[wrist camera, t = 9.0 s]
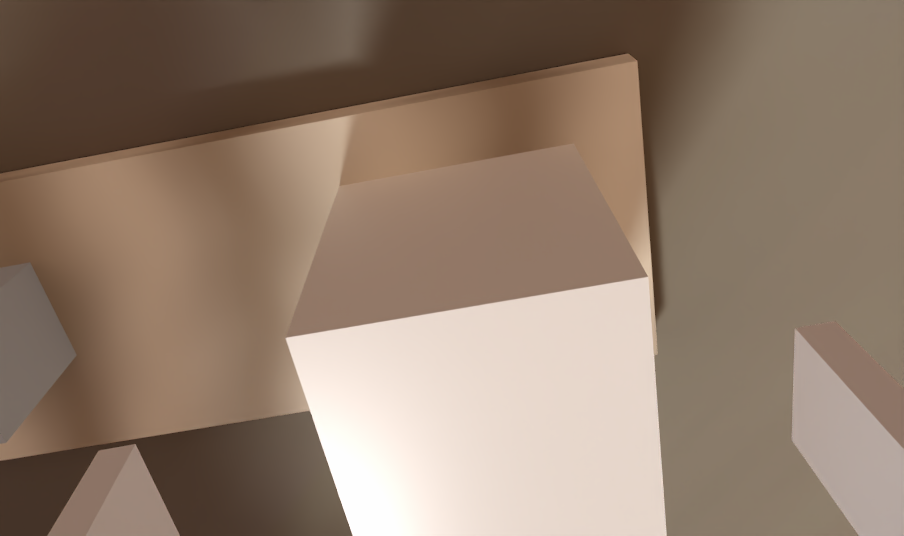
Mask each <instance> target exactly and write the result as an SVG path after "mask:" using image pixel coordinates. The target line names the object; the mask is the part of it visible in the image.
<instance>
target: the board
mask: <svg viewBox="0 0 904 536" xmlns="http://www.w3.org/2000/svg"><path fill="white" fill-rule="evenodd" d="M573 143H574V145H575V147H576V149H577V150H578V152H579V154H580V156H581V157H582V159H583V161H584V163H585V165H586V166H587V168H588V170H589V172H590V174H591V175H592V177H593V179H594V181H595V182H596V184H597V186H598V188H599V190H600V191H601V193H602V195H603V197H604V199H605V200H606V202H607V204H608V206H609V207H610V209H611V211H612V213H613V215H614V216H615V218H616V220H617V222H618V224H619V225H620V227H621V229H622V231H623V232H624V234H625V236H626V238H627V240H628V241H629V243H630V245H631V247H632V249H633V250H634V252H635V254H636V256H637V257H638V259H639V261H640V263H641V265H642V266H643V268H644V270H645V272H646V274H647V275H648V279H649V293H650V308H651V322H652V336H653V350H654V355H656V354H658V351H657V336H656V322H655V308H654V293H653V279H652V264H651V250H650V235H649V221H648V207H647V192H646V178H645V163H644V149H643V134H642V120H641V105H640V91H639V77H638V62H637V60H636V59H635V58H633V57H632V56H631V55H630V54H623V55H617V56H612V57H607V58H602V59H597V60H591V61H586V62H581V63H576V64H570V65H565V66H560V67H555V68H549V69H544V70H539V71H534V72H529V73H523V74H518V75H513V76H508V77H502V78H497V79H492V80H487V81H481V82H476V83H471V84H466V85H461V86H455V87H450V88H445V89H440V90H434V91H429V92H424V93H419V94H413V95H408V96H403V97H398V98H393V99H387V100H382V101H377V102H372V103H366V104H361V105H356V106H351V107H346V108H340V109H335V110H330V111H325V112H319V113H314V114H309V115H304V116H298V117H293V118H288V119H283V120H278V121H272V122H267V123H262V124H257V125H251V126H246V127H241V128H236V129H230V130H225V131H220V132H215V133H210V134H204V135H199V136H194V137H189V138H183V139H178V140H173V141H168V142H162V143H157V144H152V145H147V146H142V147H136V148H131V149H126V150H121V151H115V152H110V153H105V154H100V155H95V156H89V157H84V158H79V159H74V160H68V161H63V162H58V163H53V164H47V165H42V166H37V167H32V168H27V169H21V170H16V171H11V172H6V173H0V268H2V267H7V266H13V265H18V264H24V263H29V262H30V263H31V265H32V267H33V269H34V271H35V273H36V275H37V277H38V279H39V281H40V283H41V285H42V287H43V289H44V291H45V293H46V295H47V297H48V299H49V301H50V303H51V305H52V307H53V309H54V311H55V313H56V315H57V317H58V319H59V321H60V323H61V325H62V327H63V329H64V331H65V333H66V335H67V337H68V339H69V341H70V343H71V345H72V347H73V349H74V351H75V353H76V355H77V356H76V357H75V358H74V359H73V360H72V362H71V363H70V364H69V365H68V367H67V368H66V369H65V370H64V372H63V373H62V374H61V375H60V377H59V378H58V379H57V380H56V382H55V383H54V384H53V385H52V387H51V388H50V389H49V390H48V392H47V393H46V394H45V395H44V397H43V398H42V399H41V400H40V402H39V403H38V404H37V405H36V407H35V408H34V409H33V410H32V411H31V413H30V414H29V415H28V416H27V418H26V419H25V420H24V421H23V423H22V424H21V425H20V426H19V428H18V429H17V430H16V431H15V433H14V434H13V435H12V436H11V438H10V439H9V440H8V441H7V443H2V444H0V461H2V460H8V459H14V458H21V457H27V456H33V455H39V454H45V453H52V452H58V451H64V450H70V449H76V448H82V447H89V446H95V445H101V444H107V443H113V442H119V441H126V440H132V439H138V438H144V437H150V436H156V435H163V434H169V433H175V432H181V431H187V430H193V429H200V428H206V427H212V426H218V425H224V424H230V423H237V422H243V421H249V420H255V419H261V418H267V417H274V416H280V415H286V414H292V413H298V412H304V411H310V409H309V406H308V403H307V400H306V397H305V394H304V391H303V388H302V385H301V382H300V379H299V376H298V374H297V371H296V368H295V365H294V362H293V359H292V356H291V353H290V350H289V347H288V344H287V341H286V335H287V332H288V329H289V326H290V323H291V321H292V318H293V315H294V312H295V309H296V307H297V304H298V301H299V298H300V295H301V293H302V290H303V287H304V284H305V281H306V278H307V276H308V273H309V270H310V267H311V264H312V262H313V259H314V256H315V253H316V250H317V247H318V245H319V242H320V239H321V236H322V233H323V231H324V228H325V225H326V222H327V219H328V216H329V214H330V211H331V208H332V205H333V202H334V200H335V197H336V194H337V191H338V188H339V186H342V185H348V184H353V183H359V182H364V181H370V180H375V179H381V178H386V177H392V176H397V175H403V174H408V173H414V172H419V171H425V170H430V169H436V168H441V167H447V166H452V165H458V164H463V163H469V162H474V161H479V160H485V159H490V158H496V157H501V156H507V155H512V154H518V153H523V152H529V151H534V150H540V149H545V148H551V147H556V146H562V145H567V144H573Z"/></svg>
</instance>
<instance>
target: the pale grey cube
mask: <svg viewBox="0 0 904 536" xmlns="http://www.w3.org/2000/svg"><path fill="white" fill-rule="evenodd" d="M76 356H77V355H76V353H75V351H74V349H73V347H72V345H71V343H70V341H69V339H68V337H67V335H66V333H65V331H64V329H63V327H62V325H61V323H60V321H59V319H58V317H57V315H56V313H55V311H54V309H53V307H52V305H51V303H50V301H49V299H48V297H47V295H46V293H45V291H44V289H43V287H42V285H41V283H40V281H39V279H38V277H37V275H36V273H35V271H34V269H33V267H32V265H31V263H30V262H29V263H24V264H18V265H13V266H7V267H2V268H0V444H2V443H7V441H8V440H9V439H10V438H11V436H12V435H13V434H14V433H15V431H16V430H17V429H18V428H19V426H20V425H21V424H22V423H23V421H24V420H25V419H26V418H27V416H28V415H29V414H30V413H31V411H32V410H33V409H34V408H35V407H36V405H37V404H38V403H39V402H40V400H41V399H42V398H43V397H44V395H45V394H46V393H47V392H48V390H49V389H50V388H51V387H52V385H53V384H54V383H55V382H56V380H57V379H58V378H59V377H60V375H61V374H62V373H63V372H64V370H65V369H66V368H67V367H68V365H69V364H70V363H71V362H72V360H73V359H74V358H75V357H76Z"/></svg>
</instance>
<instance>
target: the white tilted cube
mask: <svg viewBox="0 0 904 536" xmlns="http://www.w3.org/2000/svg"><path fill="white" fill-rule="evenodd" d="M286 341H287V344H288V347H289V350H290V353H291V356H292V359H293V362H294V365H295V368H296V371H297V374H298V376H299V379H300V382H301V385H302V388H303V391H304V394H305V397H306V400H307V403H308V406H309V409H310V412H311V415H312V417H313V420H314V423H315V426H316V429H317V432H318V435H319V438H320V441H321V444H322V447H323V450H324V453H325V456H326V459H327V461H328V464H329V467H330V470H331V473H332V476H333V479H334V482H335V485H336V488H337V491H338V494H339V497H340V500H341V502H342V505H343V508H344V511H345V514H346V517H347V520H348V523H349V526H350V529H351V532H352V535H353V536H667V535H666V520H665V506H664V492H663V478H662V464H661V450H660V435H659V421H658V407H657V393H656V379H655V364H654V350H653V336H652V322H651V308H650V293H649V279H648V275H647V274H646V272H645V270H644V268H643V266H642V265H641V263H640V261H639V259H638V257H637V256H636V254H635V252H634V250H633V249H632V247H631V245H630V243H629V241H628V240H627V238H626V236H625V234H624V232H623V231H622V229H621V227H620V225H619V224H618V222H617V220H616V218H615V216H614V215H613V213H612V211H611V209H610V207H609V206H608V204H607V202H606V200H605V199H604V197H603V195H602V193H601V191H600V190H599V188H598V186H597V184H596V182H595V181H594V179H593V177H592V175H591V174H590V172H589V170H588V168H587V166H586V165H585V163H584V161H583V159H582V157H581V156H580V154H579V152H578V150H577V149H576V147H575V145H574V143H573V144H567V145H562V146H556V147H551V148H545V149H540V150H534V151H529V152H523V153H518V154H512V155H507V156H501V157H496V158H490V159H485V160H479V161H474V162H469V163H463V164H458V165H452V166H447V167H441V168H436V169H430V170H425V171H419V172H414V173H408V174H403V175H397V176H392V177H386V178H381V179H375V180H370V181H364V182H359V183H353V184H348V185H342V186H339V188H338V191H337V194H336V197H335V200H334V202H333V205H332V208H331V211H330V214H329V216H328V219H327V222H326V225H325V228H324V231H323V233H322V236H321V239H320V242H319V245H318V247H317V250H316V253H315V256H314V259H313V262H312V264H311V267H310V270H309V273H308V276H307V278H306V281H305V284H304V287H303V290H302V293H301V295H300V298H299V301H298V304H297V307H296V309H295V312H294V315H293V318H292V321H291V323H290V326H289V329H288V332H287V335H286Z"/></svg>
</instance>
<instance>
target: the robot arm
mask: <svg viewBox="0 0 904 536" xmlns="http://www.w3.org/2000/svg"><path fill="white" fill-rule="evenodd" d="M792 441H793V442H794V444H795V445H796V447H797V448H798V450H799V451H800V452H801V454H802V455H803V457H804V458H805V460H806V461H807V462H808V464H809V465H810V467H811V468H812V470H813V471H814V472H815V474H816V475H817V477H818V478H819V480H820V481H821V482H822V484H823V485H824V487H825V488H826V489H827V491H828V492H829V494H830V495H831V497H832V498H833V499H834V501H835V502H836V504H837V505H838V507H839V508H840V509H841V511H842V512H843V514H844V515H845V517H846V518H847V519H848V521H849V522H850V524H851V525H852V527H853V528H854V529H855V531H856V532H857V534H858V535H859V536H904V388H903V387H902V386H901V385H900V384H899V383H898V382H897V381H896V380H895V379H894V378H893V377H892V376H891V375H890V374H888V373H887V372H886V371H885V370H884V369H883V368H882V367H881V366H880V365H879V364H878V363H877V362H876V361H875V360H874V359H873V358H872V357H871V356H870V355H869V354H868V353H867V352H866V351H865V350H864V349H863V348H862V347H861V346H860V345H859V344H858V343H857V342H856V341H855V340H854V339H853V338H852V337H851V336H850V335H849V334H848V333H847V332H846V331H845V330H844V329H843V328H842V327H841V326H840V325H839V324H838V323H837V322H836V321H833V322H827V323H821V324H816V325H810V326H804V327H799V328H795V345H794V379H793V414H792ZM47 536H180V535H179V533H178V531H177V529H176V527H175V525H174V523H173V520H172V518H171V516H170V514H169V512H168V510H167V508H166V506H165V504H164V502H163V500H162V498H161V496H160V494H159V492H158V490H157V488H156V485H155V483H154V481H153V479H152V477H151V475H150V473H149V471H148V469H147V467H146V465H145V463H144V461H143V459H142V457H141V455H140V453H139V450H138V448H137V446H136V444H133V445H127V446H122V447H116V448H110V449H105V450H99V451H98V453H97V454H96V456H95V457H94V459H93V461H92V462H91V464H90V466H89V467H88V469H87V471H86V472H85V474H84V476H83V477H82V479H81V481H80V482H79V484H78V486H77V487H76V489H75V491H74V492H73V494H72V496H71V497H70V499H69V501H68V502H67V504H66V506H65V507H64V509H63V511H62V512H61V514H60V516H59V517H58V519H57V520H56V522H55V524H54V525H53V527H52V529H51V530H50V532H49V534H48V535H47Z"/></svg>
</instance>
